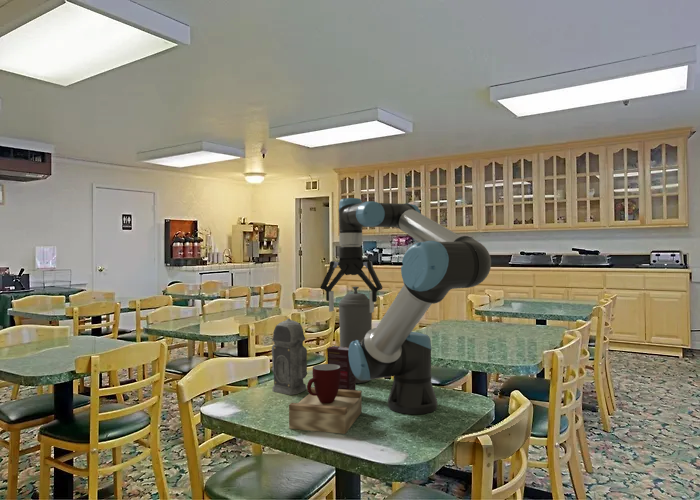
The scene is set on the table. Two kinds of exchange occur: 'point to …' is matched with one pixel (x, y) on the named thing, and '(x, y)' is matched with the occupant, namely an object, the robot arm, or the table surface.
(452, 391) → the table surface
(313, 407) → the pedestal
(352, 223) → the robot arm
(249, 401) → the table surface
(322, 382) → the mug
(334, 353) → the supplement box
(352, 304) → the canister
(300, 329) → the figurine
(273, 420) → the table surface
